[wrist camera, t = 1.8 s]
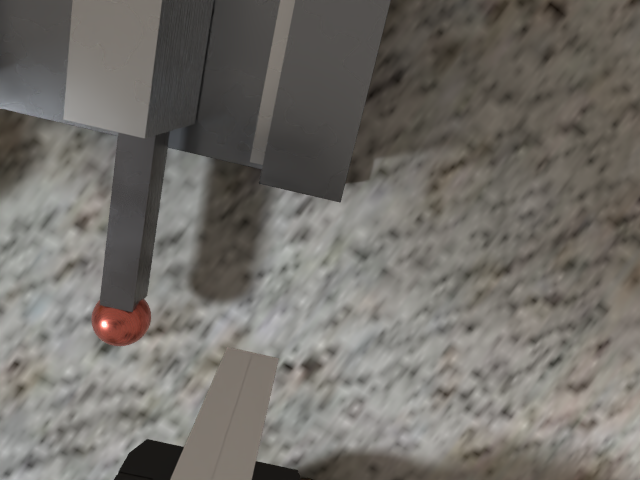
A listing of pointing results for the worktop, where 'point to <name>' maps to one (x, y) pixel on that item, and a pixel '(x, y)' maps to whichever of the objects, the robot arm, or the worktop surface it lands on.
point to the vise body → (234, 82)
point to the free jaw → (134, 128)
